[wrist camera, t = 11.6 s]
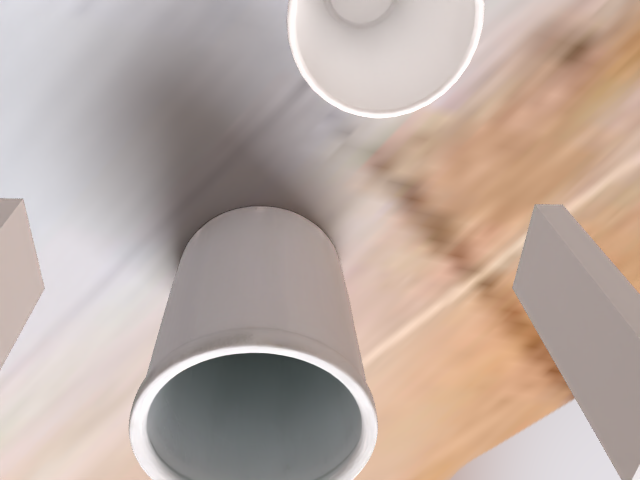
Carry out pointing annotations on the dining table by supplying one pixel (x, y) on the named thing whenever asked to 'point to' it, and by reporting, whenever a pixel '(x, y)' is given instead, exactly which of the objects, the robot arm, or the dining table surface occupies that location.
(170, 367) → the utensil holder
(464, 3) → the cup
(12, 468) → the dining table surface
